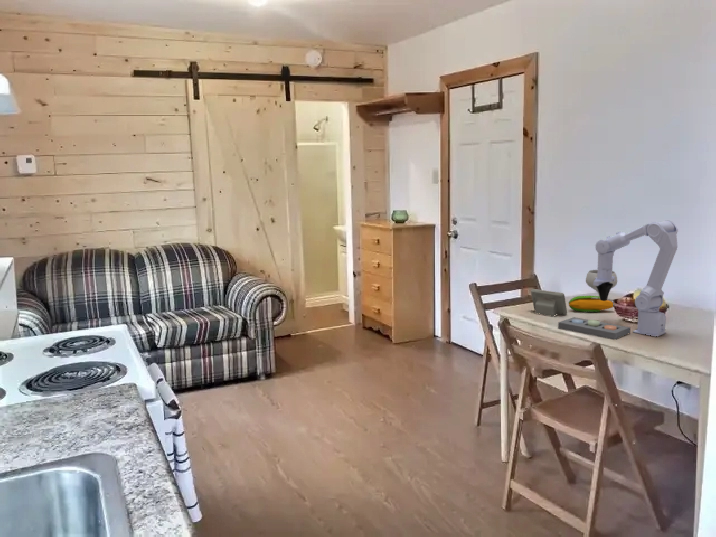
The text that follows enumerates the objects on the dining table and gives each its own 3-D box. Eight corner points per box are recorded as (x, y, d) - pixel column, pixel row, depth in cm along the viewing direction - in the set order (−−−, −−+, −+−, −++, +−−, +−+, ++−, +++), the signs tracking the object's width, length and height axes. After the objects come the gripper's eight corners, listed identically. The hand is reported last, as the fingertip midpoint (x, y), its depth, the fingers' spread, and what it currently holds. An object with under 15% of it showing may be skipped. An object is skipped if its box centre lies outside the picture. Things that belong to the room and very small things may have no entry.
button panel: (630, 333, 243) (630, 327, 242) (615, 339, 235) (615, 333, 234) (573, 322, 260) (574, 317, 260) (558, 328, 253) (558, 322, 252)
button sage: (601, 327, 247) (601, 321, 247) (595, 329, 244) (596, 323, 244) (591, 325, 250) (591, 319, 250) (585, 327, 248) (585, 321, 247)
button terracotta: (618, 332, 242) (618, 326, 242) (612, 334, 239) (613, 328, 239) (607, 330, 245) (607, 324, 245) (602, 332, 243) (602, 326, 242)
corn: (567, 293, 283) (613, 293, 280) (566, 309, 285) (612, 309, 282) (570, 297, 276) (617, 297, 273) (569, 314, 278) (616, 314, 275)
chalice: (613, 307, 287) (614, 275, 284) (581, 304, 294) (583, 272, 292) (618, 301, 299) (620, 270, 296) (588, 298, 306) (589, 268, 303)
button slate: (585, 326, 253) (585, 320, 252) (579, 328, 250) (579, 322, 249) (575, 324, 256) (575, 318, 255) (569, 326, 253) (569, 320, 253)
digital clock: (569, 315, 273) (570, 291, 272) (555, 318, 268) (556, 294, 267) (540, 309, 287) (540, 286, 285) (526, 311, 282) (527, 288, 280)
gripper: (604, 265, 264) (603, 296, 266) (586, 269, 255) (585, 301, 257) (620, 266, 259) (619, 298, 261) (603, 271, 250) (601, 304, 252)
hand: (603, 300), depth 259 cm, fingers closed
